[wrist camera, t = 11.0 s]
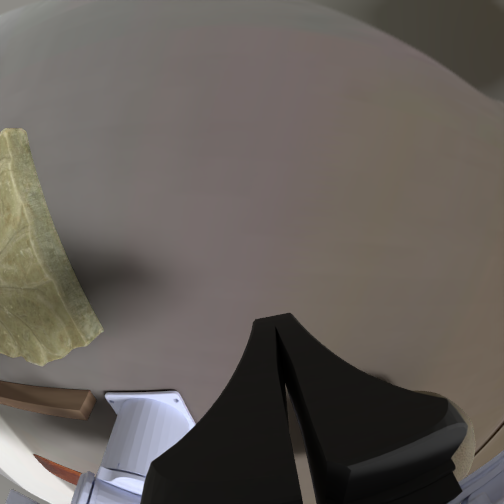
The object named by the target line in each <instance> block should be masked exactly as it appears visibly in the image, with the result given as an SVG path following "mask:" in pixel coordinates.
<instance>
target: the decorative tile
mask: <svg viewBox="0 0 504 504" xmlns="http://www.w3.org/2000/svg"><path fill="white" fill-rule="evenodd" d="M103 331H104V330H103V328H102V326H101V324H100V322H99V320H98V319H97V317H96V315H95V313H94V311H93V309H92V307H91V305H90V303H89V302H88V300H87V298H86V296H85V294H84V292H83V290H82V288H81V286H80V284H79V282H78V280H77V277H76V275H75V273H74V271H73V269H72V267H71V264H70V262H69V260H68V258H67V255H66V253H65V251H64V248H63V246H62V244H61V241H60V239H59V236H58V234H57V232H56V229H55V227H54V224H53V221H52V219H51V216H50V213H49V210H48V208H47V205H46V202H45V199H44V196H43V192H42V189H41V186H40V183H39V180H38V177H37V173H36V170H35V166H34V163H33V159H32V155H31V151H30V147H29V142H28V138H27V133H26V131H24V130H23V129H21V128H5V129H4V130H3V131H1V132H0V354H1V353H2V354H4V355H7V356H9V357H12V358H16V357H19V356H22V357H23V358H24V359H25V360H26V361H27V362H32V363H34V364H36V365H39V366H44V365H45V364H46V363H47V362H49V361H53V360H57V359H62V358H63V357H65V356H66V355H67V354H69V352H70V351H71V350H72V349H74V348H77V347H81V346H88V345H89V344H90V343H91V342H92V341H93V340H94V339H95V338H96V337H97V336H98V335H99V334H100V333H101V332H103Z"/></svg>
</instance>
